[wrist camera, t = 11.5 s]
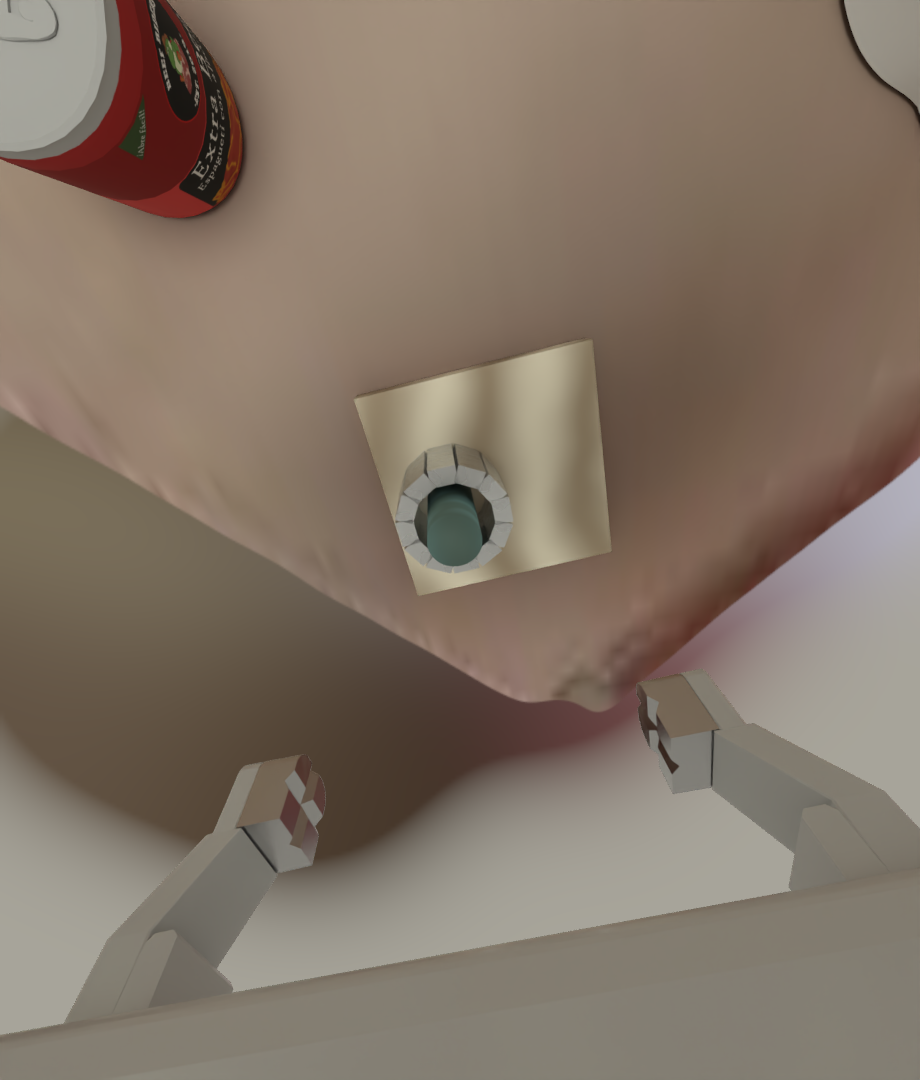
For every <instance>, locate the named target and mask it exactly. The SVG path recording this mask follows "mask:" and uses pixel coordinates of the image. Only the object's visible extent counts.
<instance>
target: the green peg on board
mask: <svg viewBox="0 0 920 1080" xmlns="http://www.w3.org/2000/svg"><path fill="white" fill-rule="evenodd" d="M354 401H355V404H356V408H357V411H358V414H359V417H360V420H361V423H362V426H363V429H364V432H365V435H366V438H367V441H368V444H369V447H370V450H371V453H372V456H373V460H374V463H375V466H376V469H377V472H378V475H379V478H380V481H381V484H382V487H383V490H384V493H385V496H386V499H387V502H388V505H389V508H390V511H391V515H392V518H393V521H394V524H395V521H396V520H395V517H396V511H397V505H398V499H399V493H400V489H401V485H402V481H403V478H404V474H405V470H407V467H408V466H409V465H410V464H411V463H412V462H413V461H414V460H415V459H416V458H417V457H418V456H419V455H420V454H421V453H422V452H423V451H425V452H426V453H427V449H429V448H433V447H438V446H442V445H446V444H450V443H451V445H452V449H453V447H454V444H459V445H462V446H466V447H469V448H472V449H476V450H478V452H479V453H480V452H481V453H482V454H483V455H484V456H485V457H486V458H487V459H488V460H489V461H490V462H491V464H492V465H493V466H494V467H495V468H496V469H497V471H498V473H499V475H500V478H501V480H502V482H503V485H504V487H505V489H506V491H507V494H508V496H509V500H510V505H511V511H512V516H513V522H512V523H513V526H512V529H511V532H510V534H509V537H508V539H507V542H506V544H505V547H501V548H502V551H501V552H500V553H498V554H497V555H496V556H495V557H494V558H492V559H491V560H490V561H489V562H487V563H486V564H485V565H484V566H482V565H481V564H480V563H479V562H478V563H479V568H477V569H473V570H468V571H464V572H459V573H454V570H453V569H452V572H451V573H446V572H442V571H438V570H434V569H430V568H426V564H425V565H424V566H422V565H421V564H420V563H419V562H418V561H417V560H416V559H414V558H413V557H412V556H411V555H410V554H409V553H408V552H407V551H405V546H404V547H402V548H403V551H404V554H405V557H406V560H407V563H408V567H409V570H410V573H411V576H412V579H413V582H414V585H415V588H416V591H417V594H418V596H421V595H426V594H430V593H434V592H439V591H443V590H447V589H452V588H456V587H460V586H465V585H469V584H473V583H478V582H482V581H486V580H491V579H495V578H500V577H504V576H508V575H513V574H517V573H521V572H526V571H530V570H534V569H539V568H543V567H547V566H552V565H556V564H560V563H565V562H569V561H574V560H578V559H582V558H587V557H591V556H595V555H600V554H604V553H608V552H612V549H611V538H610V527H609V516H608V505H607V494H606V483H605V472H604V461H603V450H602V439H601V428H600V417H599V406H598V395H597V384H596V373H595V362H594V351H593V340H592V339H588V338H582V339H578V340H574V341H570V342H566V343H563V344H559V345H555V346H551V347H547V348H543V349H539V350H535V351H531V352H527V353H523V354H519V355H515V356H511V357H507V358H503V359H499V360H495V361H491V362H487V363H483V364H480V365H476V366H472V367H468V368H464V369H460V370H456V371H452V372H448V373H444V374H440V375H436V376H432V377H428V378H424V379H420V380H416V381H412V382H408V383H404V384H400V385H397V386H393V387H389V388H385V389H381V390H377V391H373V392H369V393H365V394H361V395H357V397H356V398H355V399H354ZM484 500H485V497H484V496H483V494H482V493H481V492H480V491H479V490H478V489H475V488H472V487H468V486H465V485H461V484H457V483H455V484H451V485H446V486H442V487H438V488H434V489H433V490H432V491H431V492H430V493H429V494H428V495H427V496H426V497H425V498H424V499H422V500H421V501H420V502H419V507H420V510H421V511H422V512H423V513H424V514H425V515H426V516H427V546H428V550H429V552H430V554H431V555H432V557H433V558H434V559H435V560H436V561H438V562H439V563H441V564H443V565H447V566H462V565H465V564H467V563H469V562H471V561H472V560H474V559H475V558H476V557H477V555H478V554H479V552H480V550H481V548H482V534H481V530H480V526H479V521H478V517H477V513H479V512H480V511H481V508H482V506H483V503H484ZM395 527H396V525H395ZM396 530H397V528H396ZM397 533H398V531H397ZM398 536H399V534H398ZM399 539H400V537H399ZM400 542H401V540H400ZM401 545H402V543H401Z"/></svg>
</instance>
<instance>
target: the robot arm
mask: <svg viewBox="0 0 920 1080" xmlns="http://www.w3.org/2000/svg"><path fill="white" fill-rule="evenodd" d="M844 3H845V8H846V12H847V17H848V20H849V24H850V27H851V30H852V33H853V35H854V38H855V41H856V43H857V45H858V47H859V49H860V51H861V53H862V54H863V56H864V58H865V59H866V61H867V62H868V64H869V65H870V66H871V67H872V69H873V70H874V71H875V72H876V73H877V74H878V75H879V76H880V77H881V78H882V79H883V80H884V81H885V82H887V83H888V84H889V85H891V86H892V87H894V88H895V89H897V90H898V91H900V92H901V93H903V94H904V95H906V96H907V97H908V98H909V99H910V100H912V101H913V103H914V104H915V105H916V106H917V107H918V110H919V113H920V0H844ZM636 692H637V696H638V698H639V700H640V702H641V704H640V706H639V707H638V715H639V721H640V724H641V728H642V731H643V734H644V736H645V739H646V741H647V743H648V745H649V747H650V749H651V750H653V751H654V752H656V753H657V754H658V757H659V767H660V769H661V771H662V773H663V775H664V777H665V779H666V781H667V783H668V785H669V787H670V789H671V791H672V793H673V794H675V793H682V792H688V791H693V790H699V789H705V788H711V787H712V789H713V790H714V791H715V792H716V793H717V794H719V795H720V796H721V797H723V798H724V799H725V800H727V801H728V802H729V803H730V804H732V805H733V806H734V807H735V808H737V809H738V810H739V811H741V812H742V813H743V814H744V815H746V816H747V817H748V818H750V819H751V820H752V821H753V822H755V823H756V824H757V825H759V826H760V827H761V828H762V829H764V830H765V831H766V832H767V833H769V834H770V835H771V836H773V837H774V838H775V839H777V840H778V841H779V842H780V843H782V844H783V845H784V846H786V847H787V848H788V849H789V850H791V851H792V852H793V853H794V854H795V855H794V860H793V866H792V871H791V877H790V882H789V888H790V890H791V891H789V892H783V893H778V894H772V895H767V896H762V897H757V898H751V899H745V900H740V901H734V902H729V903H723V904H718V905H712V906H707V907H701V908H696V909H691V910H685V911H679V912H674V913H668V914H662V915H658V916H652V917H646V918H640V919H635V920H630V921H624V922H619V923H613V924H607V925H602V926H596V927H591V928H586V929H580V930H574V931H569V932H563V933H558V934H553V935H547V936H541V937H536V938H530V939H525V940H519V941H514V942H508V943H502V944H497V945H492V946H486V947H481V948H475V949H470V950H464V951H459V952H453V953H448V954H442V955H437V956H431V957H426V958H420V959H415V960H409V961H404V962H398V963H393V964H387V965H382V966H376V967H372V968H365V969H360V970H354V971H349V972H343V973H338V974H333V975H328V976H321V977H317V978H310V979H305V980H300V981H294V982H289V983H283V984H277V985H272V986H267V987H261V988H256V989H250V990H245V991H239V992H234V993H232V991H233V987H232V984H231V982H230V981H229V980H228V979H227V978H226V977H225V976H224V975H222V974H221V973H220V972H219V971H218V970H217V967H218V966H219V964H220V963H221V961H222V959H223V958H224V956H225V955H226V953H227V952H228V950H229V949H230V947H231V946H232V944H233V943H234V941H235V940H236V938H237V936H238V935H239V934H240V932H241V930H242V929H243V927H244V926H245V924H246V923H247V921H248V920H249V918H250V916H251V915H252V914H253V912H254V911H255V909H256V907H257V906H258V904H259V903H260V901H261V900H262V898H263V897H264V895H265V894H266V892H267V891H268V889H269V888H270V886H271V885H272V883H273V881H274V880H275V878H276V877H277V874H276V873H280V872H284V871H289V870H293V869H297V868H302V867H306V866H310V865H312V863H313V859H314V854H315V850H316V845H317V841H318V836H319V835H318V833H317V831H316V829H315V825H316V824H317V823H318V822H319V820H320V819H321V818H322V816H323V813H324V808H325V788H324V784H323V781H322V779H321V778H320V776H319V775H318V774H316V773H314V772H312V771H310V769H311V766H312V762H311V761H310V759H309V758H308V756H307V755H298V756H293V757H287V758H282V759H277V760H271V761H265V762H261V763H256V764H251V765H246V766H244V767H243V768H242V770H240V772H239V774H238V776H237V778H236V781H235V783H234V785H233V788H232V790H231V792H230V795H229V797H228V799H227V802H226V804H225V806H224V809H223V811H222V813H221V816H220V818H219V820H218V823H217V825H216V828H215V830H214V832H213V834H209V835H206V836H205V838H203V840H202V841H201V842H200V843H199V844H198V845H197V846H196V847H195V848H194V849H193V850H192V851H191V852H190V853H189V854H188V855H187V856H186V858H185V859H184V860H183V861H182V862H181V863H180V864H179V865H178V866H177V867H176V868H175V869H174V870H173V871H172V872H171V873H170V874H169V876H167V878H166V879H165V880H164V881H163V882H162V883H161V884H160V885H159V886H158V887H157V888H156V889H155V890H154V891H153V892H152V893H151V894H150V896H149V897H148V898H147V899H146V900H145V901H144V902H143V903H142V904H141V905H140V906H139V907H138V908H137V909H136V910H135V911H134V912H133V913H132V914H131V916H130V917H129V918H128V919H127V920H126V921H125V922H124V923H123V924H122V925H121V926H120V927H119V928H118V929H117V930H116V931H115V932H114V933H113V935H112V936H111V937H110V938H109V939H108V940H107V942H106V943H105V945H104V947H103V949H102V951H101V953H100V955H99V957H98V959H97V961H96V963H95V965H94V967H93V969H92V970H91V972H90V974H89V976H88V978H87V980H86V982H85V984H84V986H83V988H82V990H81V992H80V993H79V995H78V997H77V999H76V1001H75V1003H74V1005H73V1007H72V1009H71V1011H70V1013H69V1014H68V1016H67V1018H66V1020H65V1022H64V1024H58V1025H53V1026H47V1027H42V1028H37V1029H31V1030H26V1031H20V1032H14V1033H9V1034H3V1035H0V1080H920V828H919V827H918V826H917V825H916V824H915V823H914V822H913V821H912V820H911V819H910V818H909V817H908V816H907V815H906V813H905V812H904V811H903V810H902V809H901V808H900V807H899V806H898V805H897V804H896V803H895V802H894V801H893V800H892V799H891V798H890V796H889V795H888V794H887V793H886V792H885V791H883V790H881V789H879V788H877V787H875V786H874V785H872V784H870V783H868V782H866V781H864V780H862V779H860V778H858V777H856V776H854V775H852V774H850V773H848V772H847V771H845V770H843V769H841V768H839V767H837V766H835V765H833V764H831V763H829V762H827V761H825V760H823V759H821V758H819V757H818V756H816V755H814V754H812V753H810V752H808V751H806V750H804V749H802V748H800V747H798V746H796V745H795V744H792V743H791V742H789V741H787V740H785V739H783V738H781V737H779V736H777V735H775V734H773V733H771V732H769V731H768V730H766V729H764V728H762V727H760V726H758V725H756V724H754V723H752V724H746V723H745V722H744V720H743V719H742V718H741V717H740V715H739V714H738V713H737V711H736V710H735V709H734V707H733V706H732V705H731V703H730V702H729V701H728V700H727V699H726V697H725V696H724V694H723V693H722V692H721V690H720V689H719V688H718V687H717V685H716V684H715V683H714V681H713V680H712V679H711V677H710V676H709V675H708V674H707V672H706V671H704V670H703V669H698V670H694V671H689V672H685V673H680V674H674V675H670V676H665V677H661V678H656V679H652V680H648V681H643V682H639V683H637V685H636Z"/></svg>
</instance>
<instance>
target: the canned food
mask: <svg viewBox="0 0 920 1080" xmlns="http://www.w3.org/2000/svg"><path fill="white" fill-rule="evenodd" d="M0 159H2V160H4V161H6V162H8V163H11V164H14V165H17V166H19V167H22V168H25V169H28V170H31V171H33V172H36V173H39V174H42V175H45V176H47V177H50V178H53V179H56V180H59V181H61V182H64V183H67V184H70V185H72V186H75V187H78V188H81V189H84V190H86V191H89V192H92V193H95V194H98V195H100V196H103V197H106V198H109V199H112V200H114V201H117V202H120V203H123V204H126V205H128V206H131V207H134V208H137V209H139V210H142V211H145V212H148V213H151V214H155V215H159V216H163V217H172V218H184V217H190V216H195V215H199V214H201V213H203V212H205V211H207V210H209V209H212V208H214V207H215V206H216V205H218V204H219V203H220V202H221V201H222V200H224V199H225V198H226V196H227V195H228V193H229V192H230V191H231V189H232V188H233V186H234V184H235V181H236V179H237V177H238V174H239V171H240V166H241V160H242V133H241V127H240V121H239V115H238V111H237V108H236V105H235V102H234V98H233V95H232V92H231V90H230V88H229V86H228V84H227V82H226V80H225V78H224V75H223V73H222V71H221V70H220V68H219V67H218V65H217V64H216V62H215V61H214V59H213V58H212V56H211V55H210V53H209V52H208V50H207V49H206V48H205V47H204V45H203V44H202V43H201V42H200V41H199V39H198V38H197V37H196V36H195V35H194V33H193V32H192V31H191V30H190V28H189V27H188V26H187V25H186V24H185V22H184V21H183V20H182V19H181V18H180V16H179V15H178V14H177V13H176V11H175V10H174V9H173V8H172V7H171V5H170V4H169V3H168V2H167V1H166V0H0Z"/></svg>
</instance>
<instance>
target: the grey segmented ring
mask: <svg viewBox="0 0 920 1080" xmlns="http://www.w3.org/2000/svg"><path fill="white" fill-rule="evenodd" d="M455 483H457V484H461V485H465V486H468V487H472V488H475V489H478V490H479V491H480V492H481V493H482V494H483V496H484V497H485V500H484V503H483V506H482V508H481V511H480V512H479V513H477V517H478V521H479V526H480V530H481V534H482V548H481V550H480V552H479V554H478V555H477V557H476V558H475V559H474V560H472V561H471V562H469V563H467V564H465V565H462V566H447V565H443V564H441V563H439V562H438V561H436V560H435V559H434V558H433V557H432V555H431V554H430V552H429V550H428V546H427V516H426V515H425V514H424V513H423V512H422V511H421V510H420V507H419V502H420V501H421V500H422V499H424V498H425V497H426V496H427V495H428V494H429V493H430V492H431V491H432V490H433V489H434V488H438V487H442V486H446V485H451V484H455ZM395 520H396V521H395V525H396V528H397V531H398V534H399V537H400V540H401V543H402V547H404V546H405V551H407V552H408V553H409V554H410V555H411V556H412V557H413V558H414V559H416V560H417V561H418V562H419V563H420V564H421V565H422V566H424V565H425V564H426V568H430V569H434V570H438V571H442V572H446V573H451V572H452V569H453V570H454V573H459V572H464V571H468V570H473V569H477V568H479V563H480V564H481V565H482V566H484V565H485V564H486V563H487V562H489V561H490V560H491V559H492V558H494V557H495V556H496V555H497V554H498V553H500V552H501V551H502V548H501V547H505V544H506V542H507V539H508V537H509V534H510V532H511V529H512V526H513V523H512V522H513V516H512V511H511V505H510V500H509V496H508V494H507V491H506V489H505V487H504V485H503V482H502V480H501V478H500V475H499V473H498V471H497V469H496V468H495V467H494V466H493V465H492V464H491V462H490V461H489V460H488V459H487V458H486V457H485V456H484V455H483V454H482V453H481V452H480V453H479V452H478V450H476V449H472V448H469V447H466V446H462V445H459V444H454V447H453V449H452V445H451V443H450V444H446V445H442V446H438V447H433V448H429V449H427V453H426V452H425V451H423V452H422V453H421V454H420V455H419V456H418V457H417V458H416V459H415V460H414V461H413V462H412V463H411V464H410V465H409V466H408V467H407V470H405V474H404V478H403V481H402V485H401V489H400V493H399V499H398V505H397V511H396V517H395ZM478 562H479V563H478Z"/></svg>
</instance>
